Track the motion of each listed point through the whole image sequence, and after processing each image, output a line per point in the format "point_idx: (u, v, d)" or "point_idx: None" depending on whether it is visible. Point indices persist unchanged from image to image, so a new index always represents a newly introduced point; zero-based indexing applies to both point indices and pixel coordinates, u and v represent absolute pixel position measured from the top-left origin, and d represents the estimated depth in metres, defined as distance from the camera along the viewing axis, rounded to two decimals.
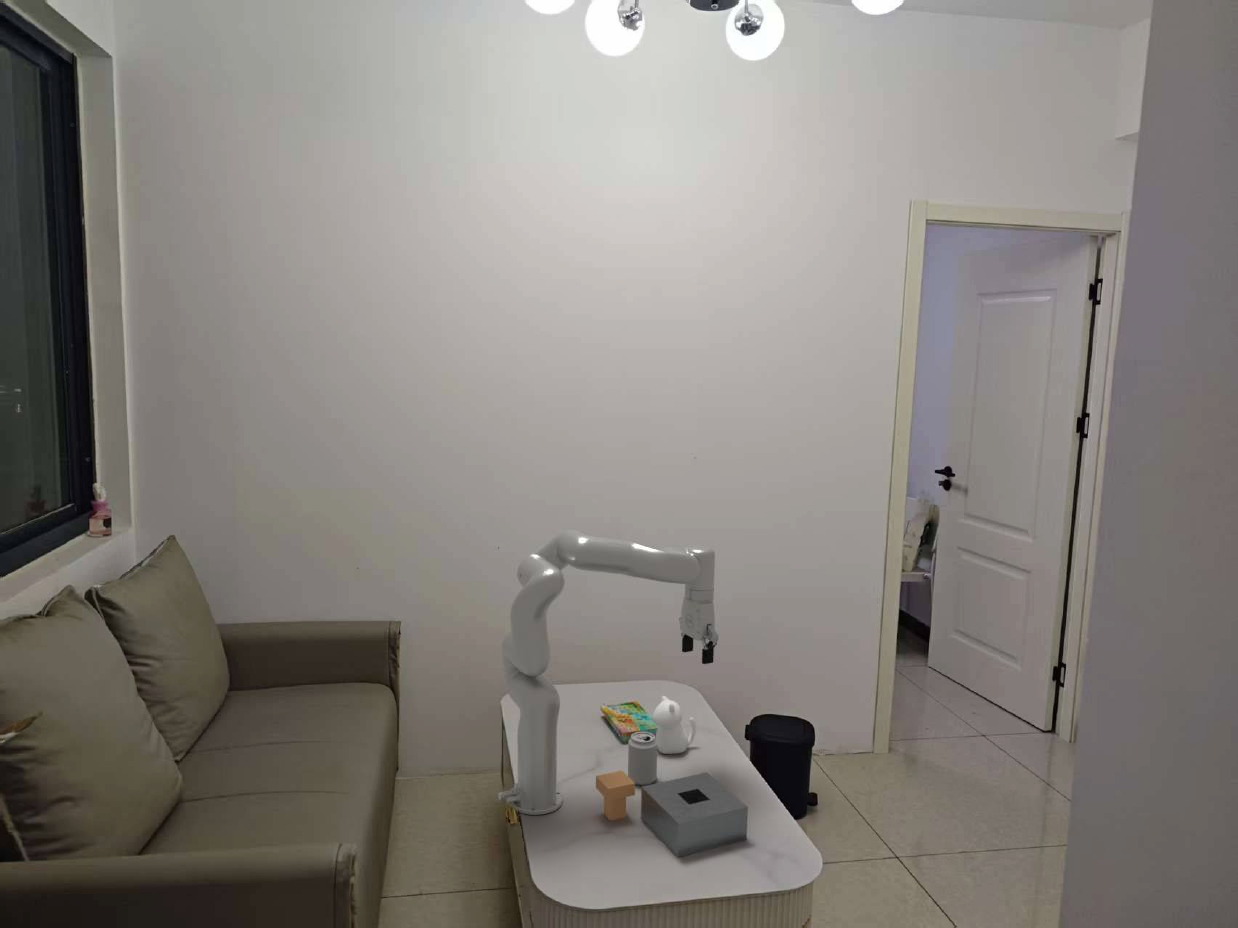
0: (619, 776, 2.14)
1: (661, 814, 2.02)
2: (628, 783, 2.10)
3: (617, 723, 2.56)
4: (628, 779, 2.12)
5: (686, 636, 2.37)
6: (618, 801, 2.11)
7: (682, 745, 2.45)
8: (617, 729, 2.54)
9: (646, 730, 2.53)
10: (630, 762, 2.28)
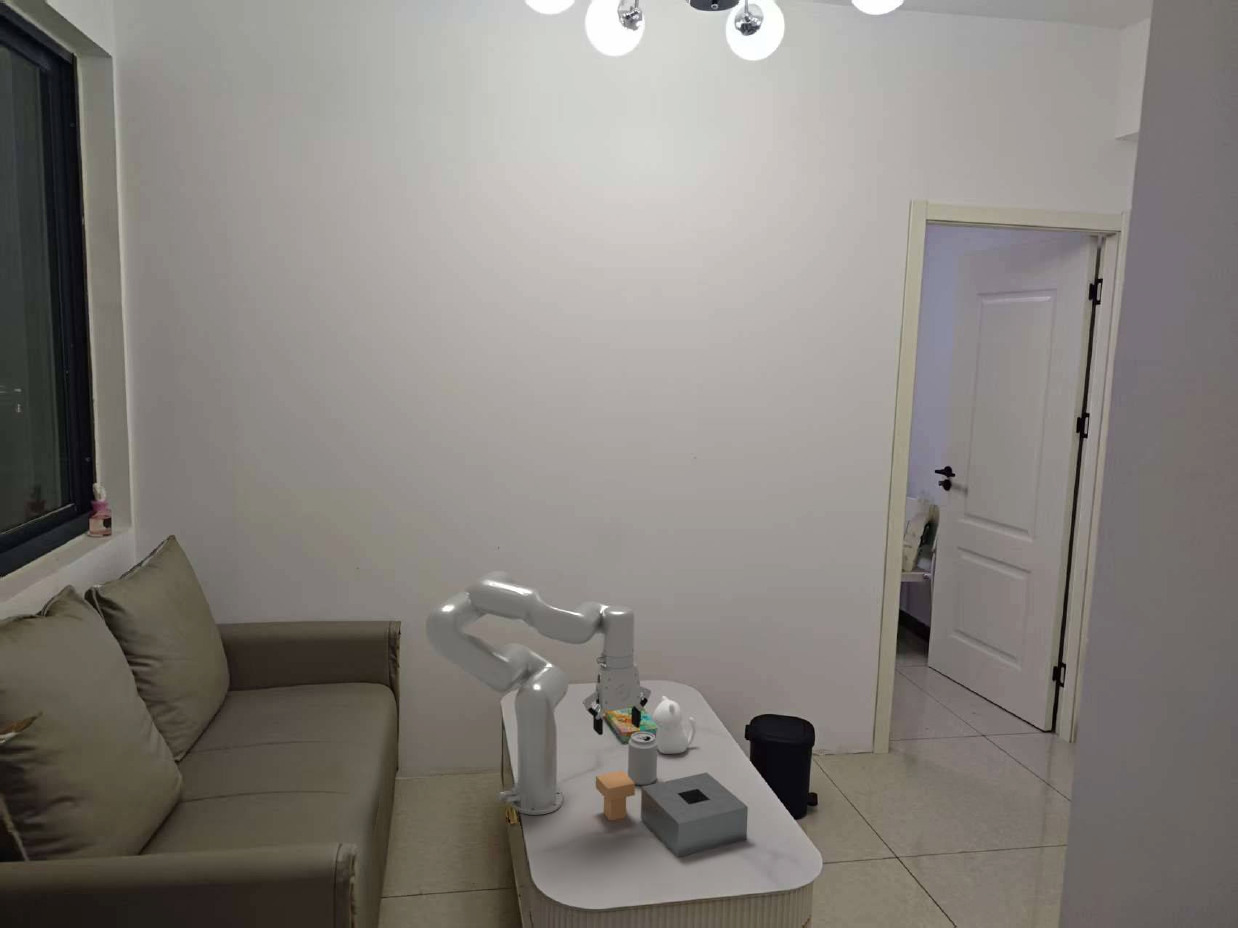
0: (619, 776, 2.14)
1: (661, 814, 2.02)
2: (628, 783, 2.10)
3: (617, 723, 2.56)
4: (628, 779, 2.12)
5: None
6: (618, 801, 2.11)
7: (682, 745, 2.45)
8: (617, 729, 2.54)
9: (646, 730, 2.53)
10: (630, 762, 2.28)
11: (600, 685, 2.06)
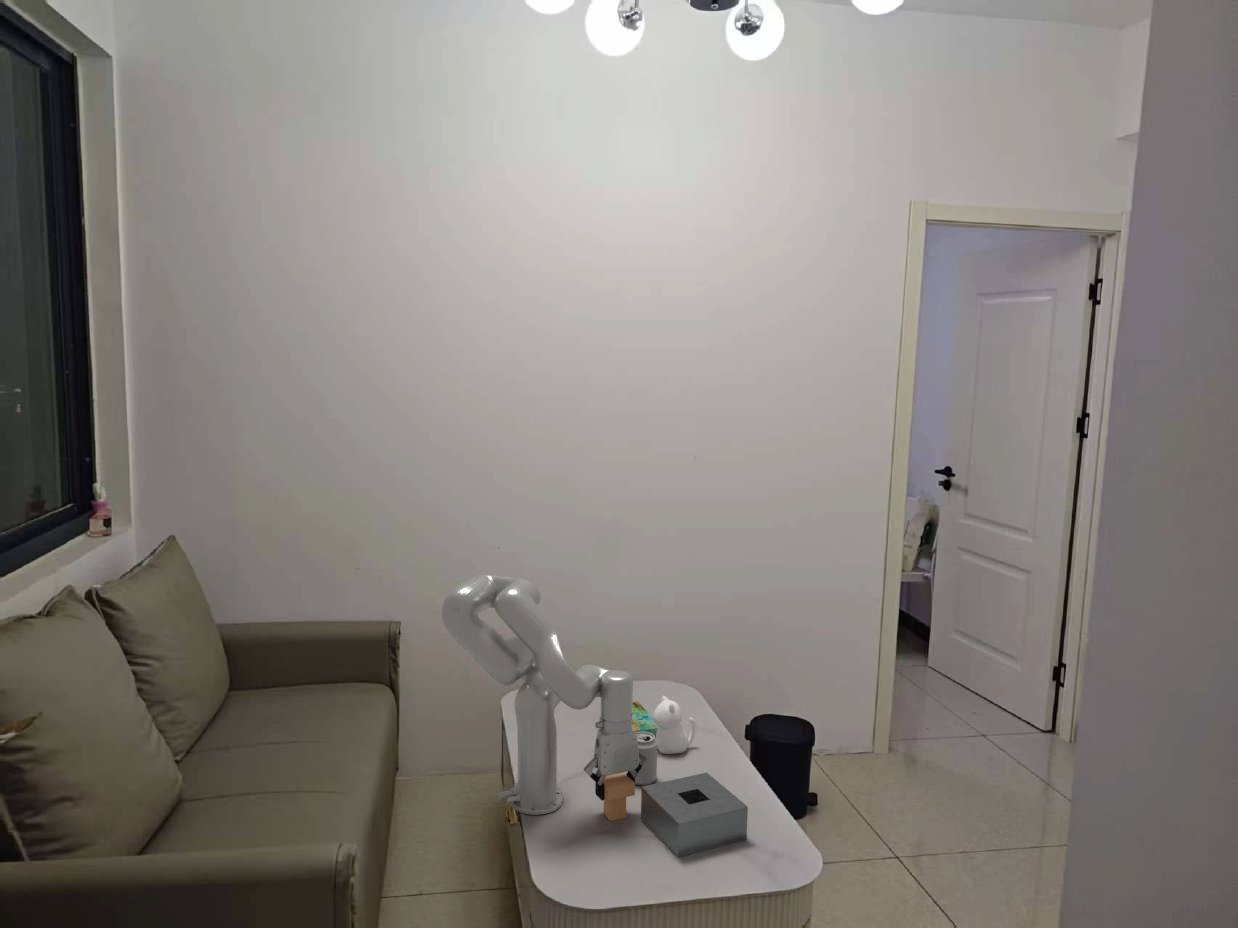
0: (619, 776, 2.14)
1: (661, 814, 2.02)
2: (628, 783, 2.10)
3: None
4: (628, 779, 2.12)
5: (602, 780, 2.10)
6: (618, 801, 2.11)
7: (682, 745, 2.45)
8: None
9: (646, 730, 2.53)
10: None
11: (599, 749, 2.08)
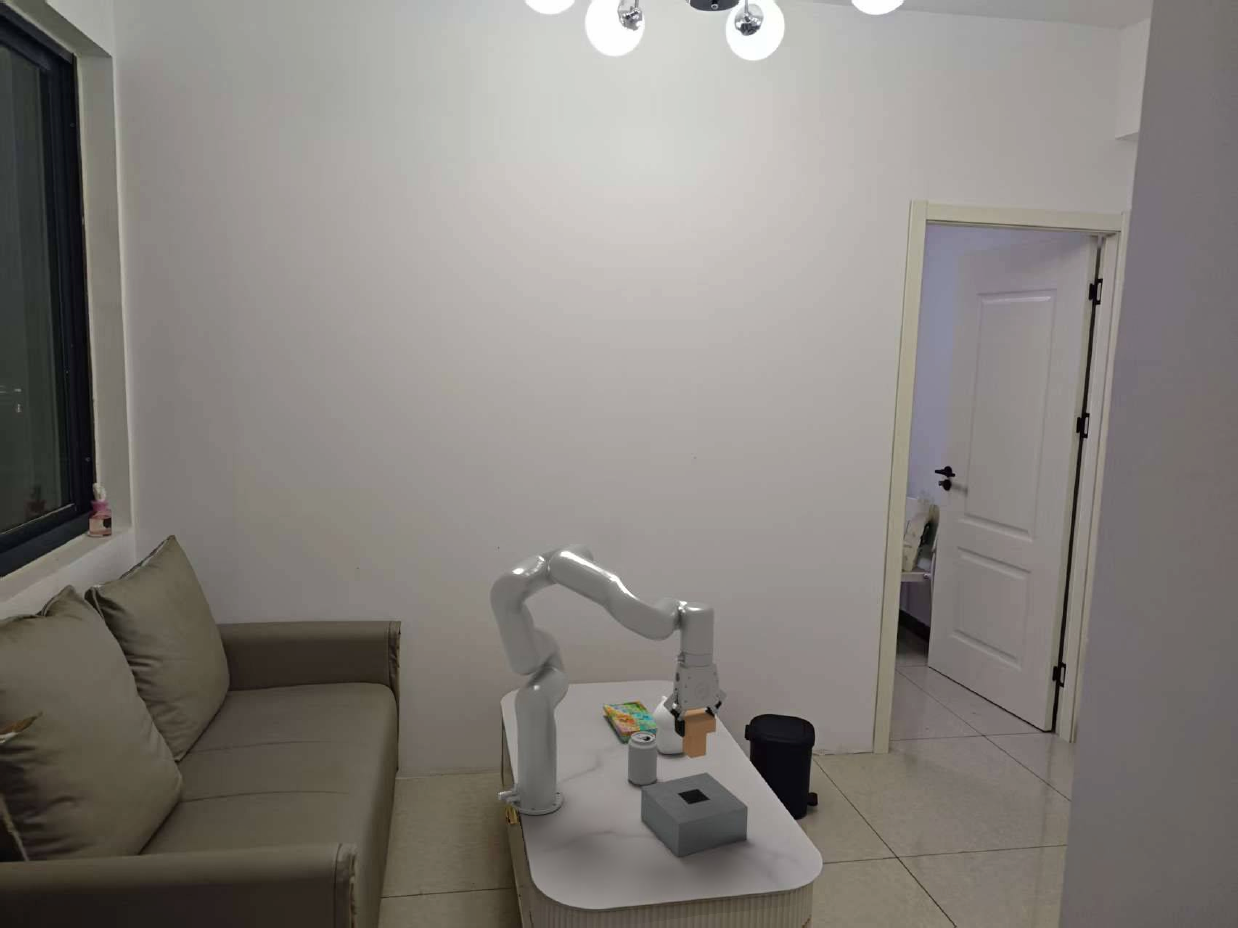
0: (698, 713, 2.06)
1: (661, 814, 2.02)
2: (709, 719, 2.03)
3: (618, 722, 2.57)
4: (708, 715, 2.04)
5: None
6: (698, 737, 2.03)
7: None
8: (617, 728, 2.55)
9: (646, 730, 2.53)
10: (630, 762, 2.28)
11: (679, 683, 2.00)
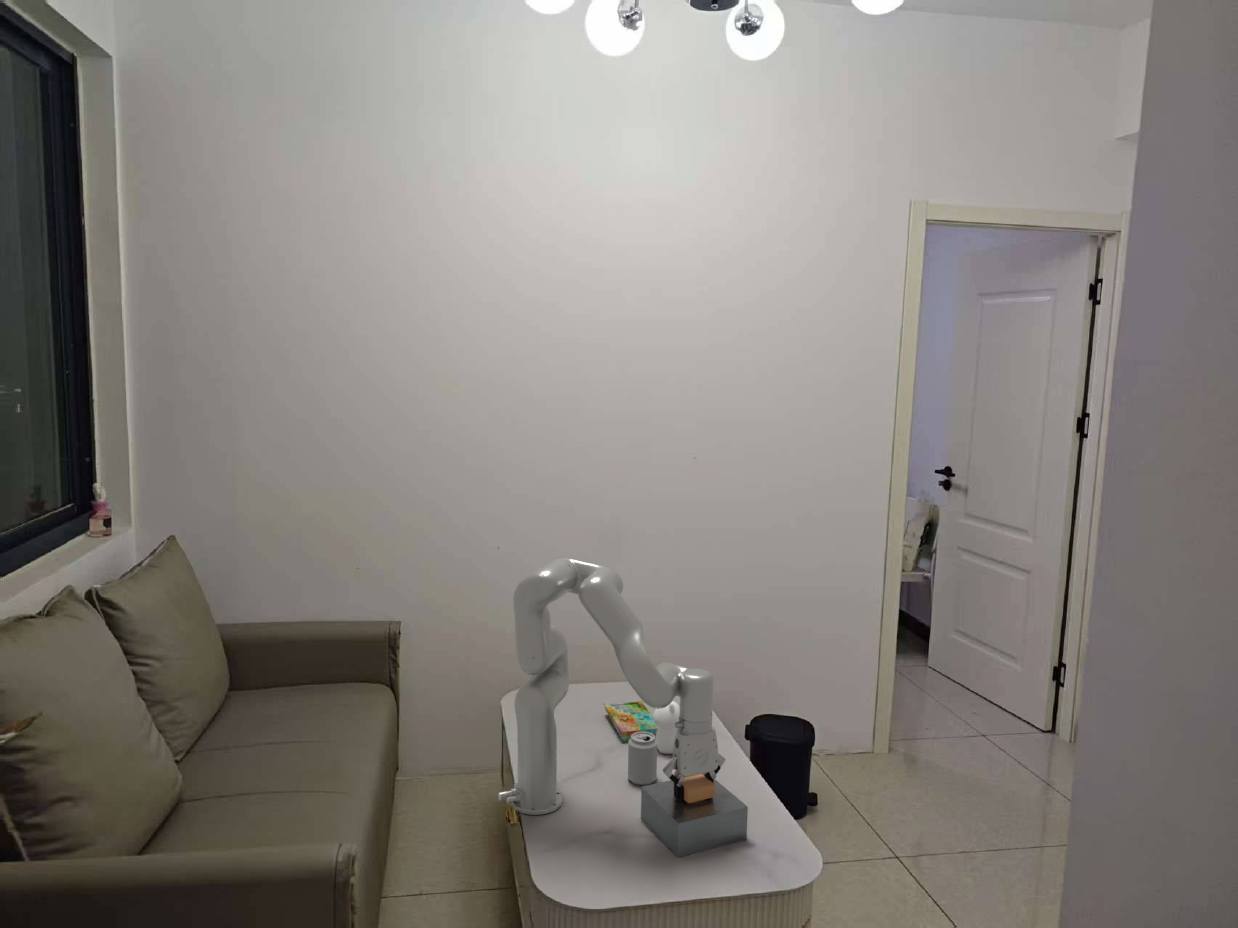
0: (697, 778, 2.08)
1: (661, 814, 2.02)
2: (708, 784, 2.04)
3: (618, 722, 2.57)
4: (707, 780, 2.06)
5: None
6: None
7: None
8: (618, 728, 2.55)
9: (646, 730, 2.53)
10: (630, 762, 2.28)
11: (678, 750, 2.02)
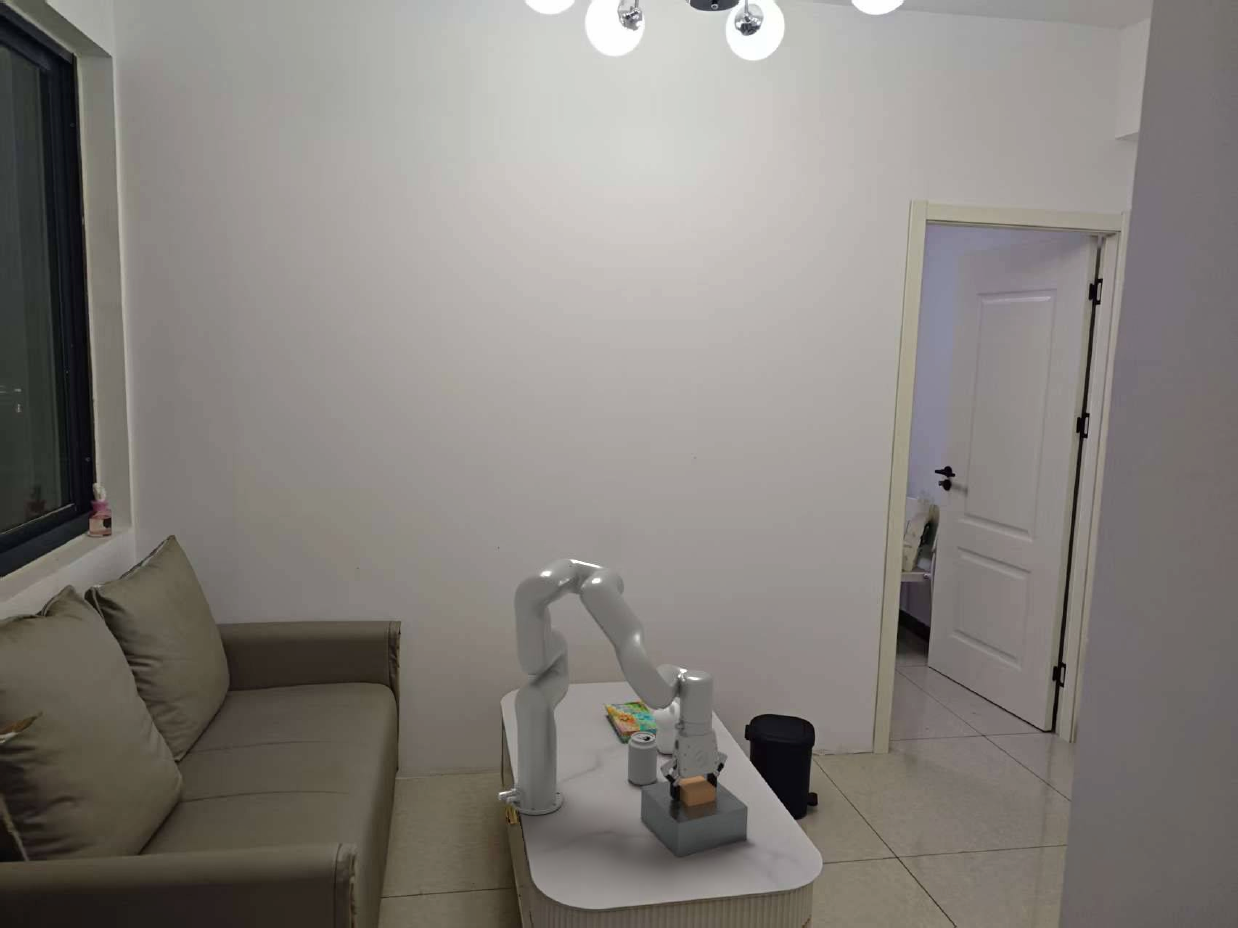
0: (698, 781, 2.08)
1: (661, 814, 2.02)
2: (708, 788, 2.05)
3: (618, 722, 2.57)
4: (708, 784, 2.07)
5: None
6: None
7: None
8: (618, 728, 2.55)
9: (646, 730, 2.53)
10: (630, 762, 2.28)
11: (678, 751, 2.02)
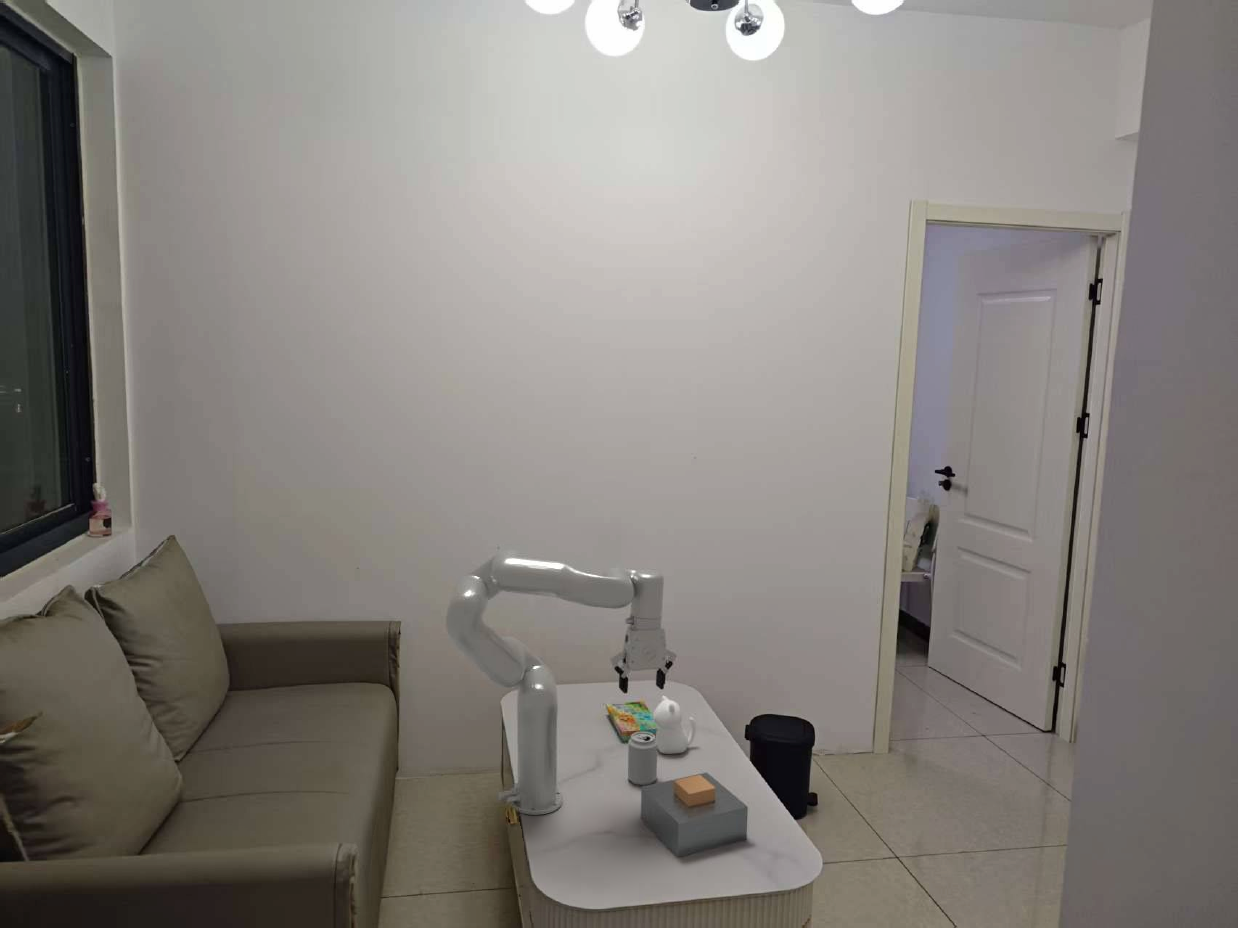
0: (698, 781, 2.08)
1: (661, 814, 2.02)
2: (708, 788, 2.05)
3: (618, 722, 2.57)
4: (708, 784, 2.07)
5: None
6: None
7: (682, 745, 2.45)
8: (618, 728, 2.55)
9: (646, 730, 2.53)
10: (630, 762, 2.28)
11: (627, 645, 2.13)
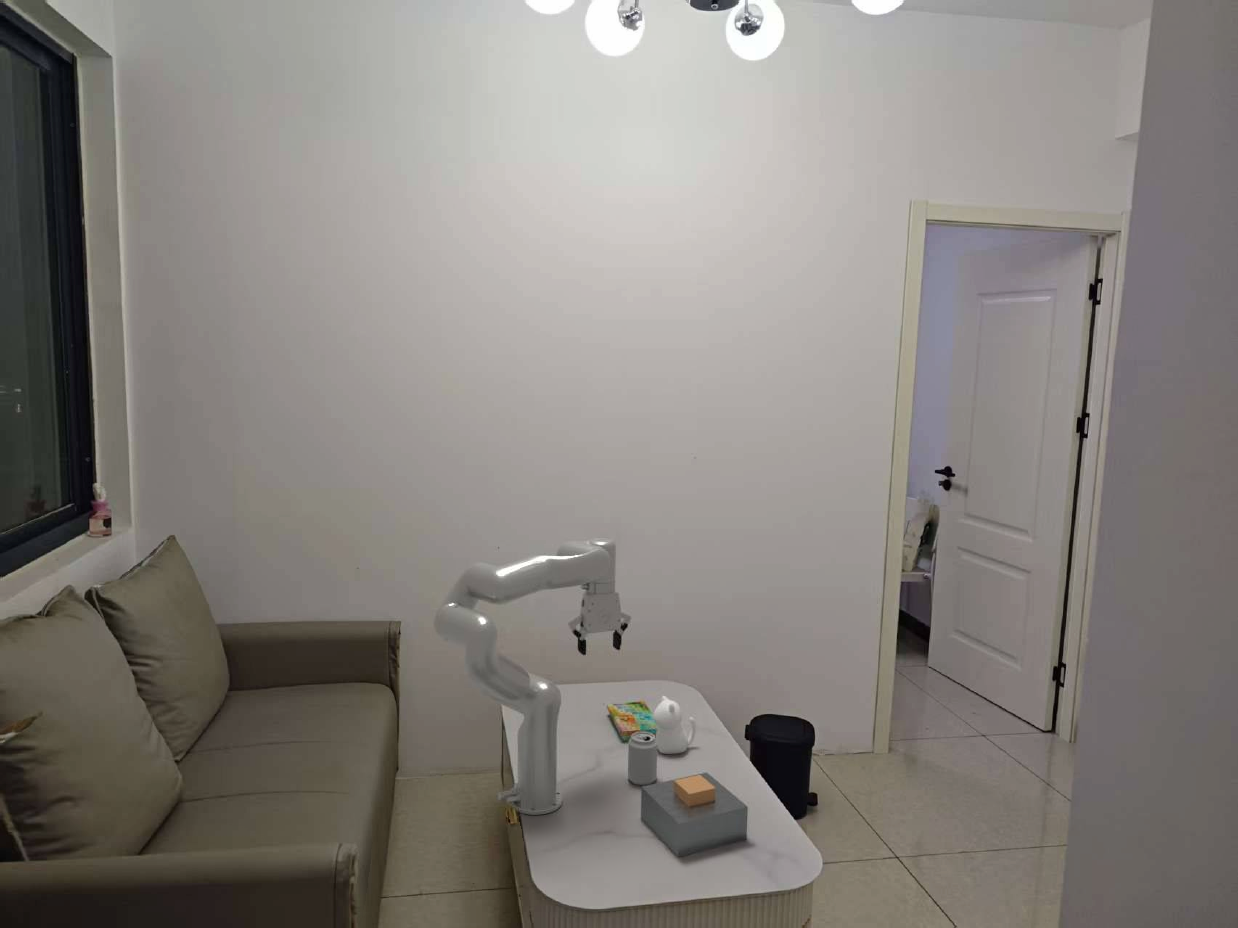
0: (698, 781, 2.08)
1: (661, 814, 2.02)
2: (708, 788, 2.05)
3: (619, 722, 2.57)
4: (708, 784, 2.07)
5: None
6: None
7: (682, 745, 2.45)
8: (618, 728, 2.55)
9: (647, 730, 2.53)
10: (630, 762, 2.28)
11: (584, 609, 2.25)
